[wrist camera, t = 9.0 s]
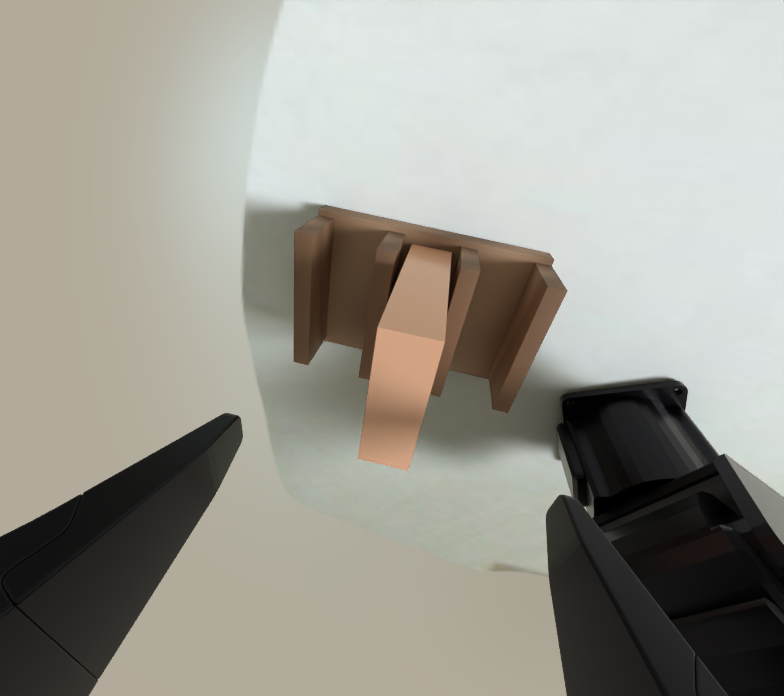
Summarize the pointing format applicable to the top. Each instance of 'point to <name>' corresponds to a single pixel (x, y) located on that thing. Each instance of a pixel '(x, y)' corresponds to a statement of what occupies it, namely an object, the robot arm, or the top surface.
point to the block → (406, 358)
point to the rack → (465, 300)
